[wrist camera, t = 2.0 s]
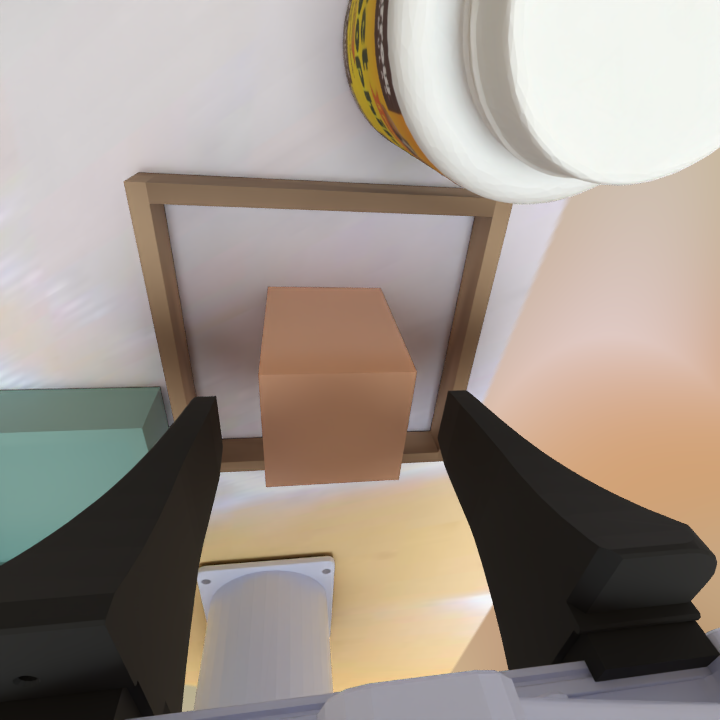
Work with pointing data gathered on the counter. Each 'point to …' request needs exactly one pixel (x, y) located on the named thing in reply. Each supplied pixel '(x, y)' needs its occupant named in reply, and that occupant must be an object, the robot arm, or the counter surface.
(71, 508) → the teal tray
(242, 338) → the counter surface
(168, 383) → the walnut frame
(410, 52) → the supplement bottle
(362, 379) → the terracotta block
